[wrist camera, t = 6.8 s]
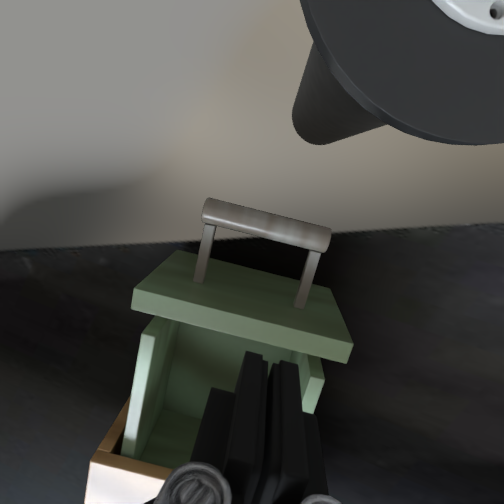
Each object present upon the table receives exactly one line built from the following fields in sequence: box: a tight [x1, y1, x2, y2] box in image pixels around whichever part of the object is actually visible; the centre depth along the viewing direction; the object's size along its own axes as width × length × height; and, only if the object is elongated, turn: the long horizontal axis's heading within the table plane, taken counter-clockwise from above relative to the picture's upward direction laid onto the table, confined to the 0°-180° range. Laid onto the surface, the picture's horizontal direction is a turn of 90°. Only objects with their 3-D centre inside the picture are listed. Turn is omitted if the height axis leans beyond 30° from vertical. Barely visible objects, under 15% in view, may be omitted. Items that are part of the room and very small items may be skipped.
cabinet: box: [84, 395, 174, 504], centre depth 26 cm, size 15×13×10 cm
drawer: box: [120, 198, 354, 469], centre depth 22 cm, size 18×11×8 cm, turn 166°
